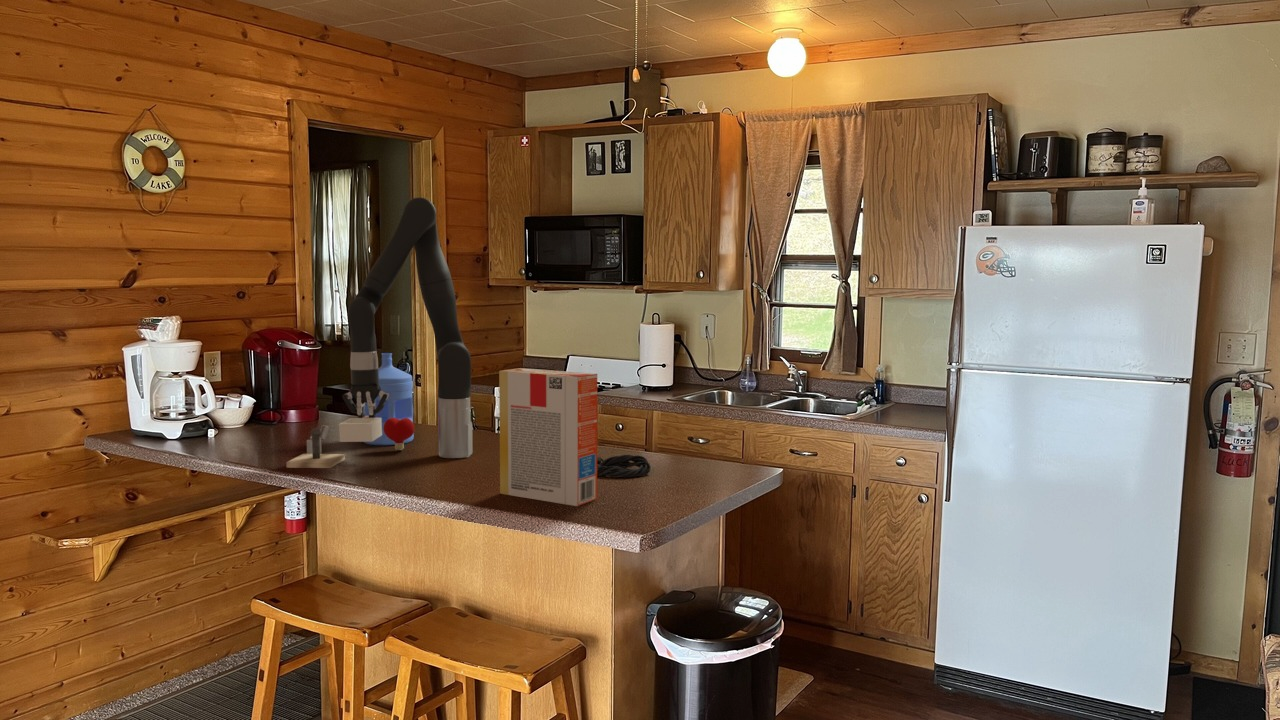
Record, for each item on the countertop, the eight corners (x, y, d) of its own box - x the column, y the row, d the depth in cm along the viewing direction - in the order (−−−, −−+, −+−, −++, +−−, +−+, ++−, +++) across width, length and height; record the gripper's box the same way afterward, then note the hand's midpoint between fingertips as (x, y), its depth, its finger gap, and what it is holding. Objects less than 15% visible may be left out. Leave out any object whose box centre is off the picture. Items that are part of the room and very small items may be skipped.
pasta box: (597, 499, 220) (597, 373, 217) (577, 506, 213) (577, 376, 211) (520, 487, 232) (520, 368, 229) (500, 493, 225) (499, 370, 222)
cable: (658, 472, 252) (658, 456, 252) (638, 482, 240) (638, 465, 239) (601, 466, 259) (601, 451, 259) (578, 476, 246) (579, 460, 246)
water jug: (359, 439, 297) (357, 352, 295) (408, 435, 304) (407, 350, 301) (366, 447, 283) (364, 356, 281) (418, 443, 290) (417, 354, 287)
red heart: (418, 449, 280) (417, 416, 279) (410, 453, 273) (409, 420, 273) (388, 448, 281) (388, 416, 280) (380, 453, 274) (379, 419, 273)
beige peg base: (345, 459, 265) (344, 425, 264) (330, 468, 253) (329, 432, 252) (303, 458, 265) (302, 424, 264) (286, 467, 253) (285, 431, 252)
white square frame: (385, 432, 267) (384, 415, 266) (372, 441, 254) (371, 423, 254) (354, 432, 267) (353, 415, 266) (339, 441, 255) (338, 423, 254)
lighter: (310, 455, 270) (309, 428, 270) (306, 454, 271) (305, 427, 270) (329, 451, 276) (329, 424, 276) (325, 450, 277) (325, 424, 277)
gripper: (392, 365, 266) (394, 425, 268) (344, 366, 267) (347, 425, 268) (384, 368, 259) (387, 429, 260) (335, 369, 259) (338, 430, 261)
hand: (367, 427), depth 264 cm, fingers closed on white square frame
